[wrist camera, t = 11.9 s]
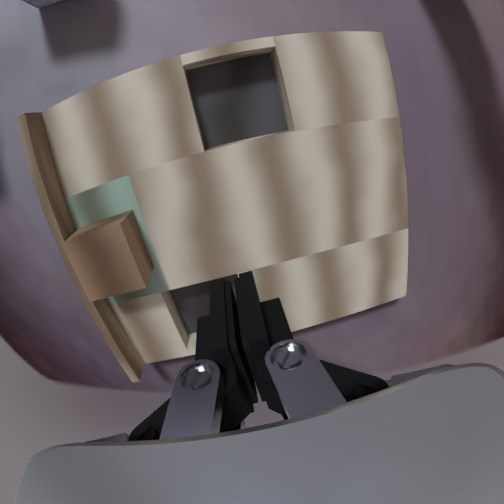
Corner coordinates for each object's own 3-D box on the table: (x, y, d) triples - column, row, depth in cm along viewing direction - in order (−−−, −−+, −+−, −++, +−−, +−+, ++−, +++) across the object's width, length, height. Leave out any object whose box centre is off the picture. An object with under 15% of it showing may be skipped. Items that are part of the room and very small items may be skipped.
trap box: (368, 38, 24) (397, 25, 18) (394, 283, 36) (418, 308, 31) (48, 116, 23) (17, 117, 18) (140, 348, 36) (132, 382, 30)
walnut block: (132, 209, 26) (120, 223, 22) (154, 266, 28) (146, 288, 25) (79, 227, 26) (62, 243, 22) (102, 280, 28) (90, 301, 25)
